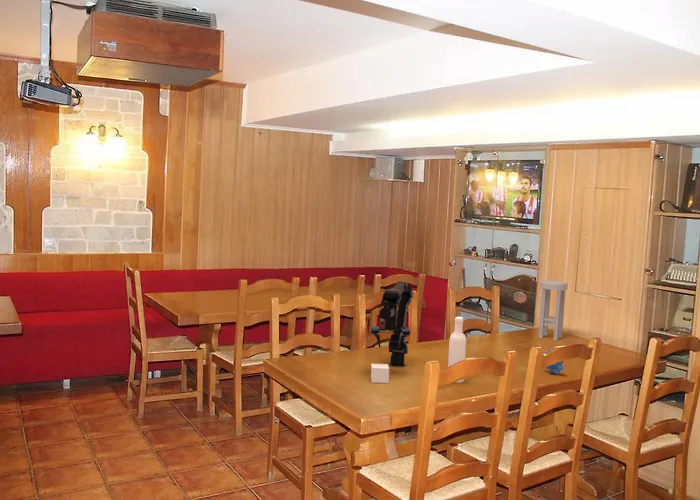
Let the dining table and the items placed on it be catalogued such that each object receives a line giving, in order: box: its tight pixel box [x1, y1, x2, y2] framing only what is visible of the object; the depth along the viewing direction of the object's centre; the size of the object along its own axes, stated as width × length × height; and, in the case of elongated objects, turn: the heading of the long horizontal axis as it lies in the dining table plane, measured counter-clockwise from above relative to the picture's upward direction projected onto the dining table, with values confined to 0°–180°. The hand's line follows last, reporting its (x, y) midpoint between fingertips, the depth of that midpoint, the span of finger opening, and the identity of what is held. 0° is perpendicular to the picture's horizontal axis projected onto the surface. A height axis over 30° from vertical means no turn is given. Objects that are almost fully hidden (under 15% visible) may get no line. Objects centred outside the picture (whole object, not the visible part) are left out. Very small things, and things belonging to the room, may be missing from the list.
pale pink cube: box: [370, 363, 390, 384], centre depth 307 cm, size 8×8×7 cm
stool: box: [538, 279, 569, 341], centre depth 416 cm, size 16×16×35 cm
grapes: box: [543, 348, 564, 375], centre depth 332 cm, size 12×7×12 cm, turn 42°
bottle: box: [447, 316, 467, 384], centre depth 312 cm, size 8×8×30 cm
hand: (389, 348), depth 320 cm, fingers open, 9 cm apart
